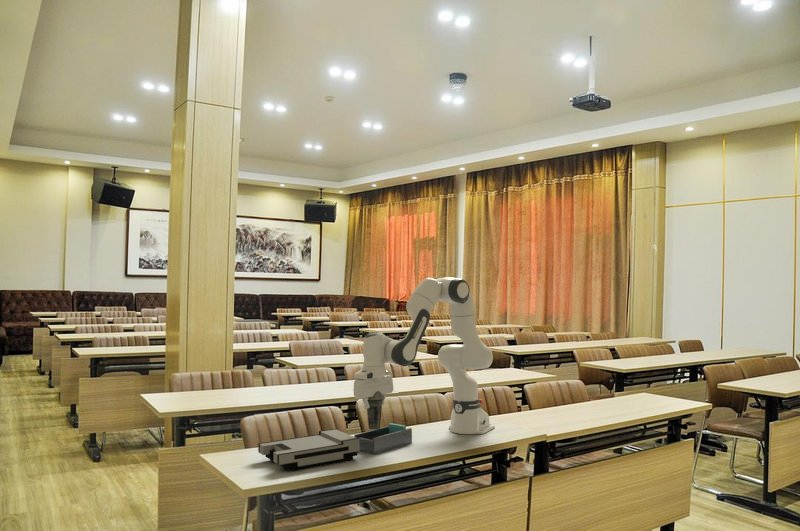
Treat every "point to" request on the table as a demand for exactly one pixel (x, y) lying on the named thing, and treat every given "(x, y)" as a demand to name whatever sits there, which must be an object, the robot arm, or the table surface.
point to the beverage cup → (375, 410)
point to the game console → (311, 450)
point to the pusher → (396, 427)
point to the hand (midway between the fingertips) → (374, 406)
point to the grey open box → (383, 440)
